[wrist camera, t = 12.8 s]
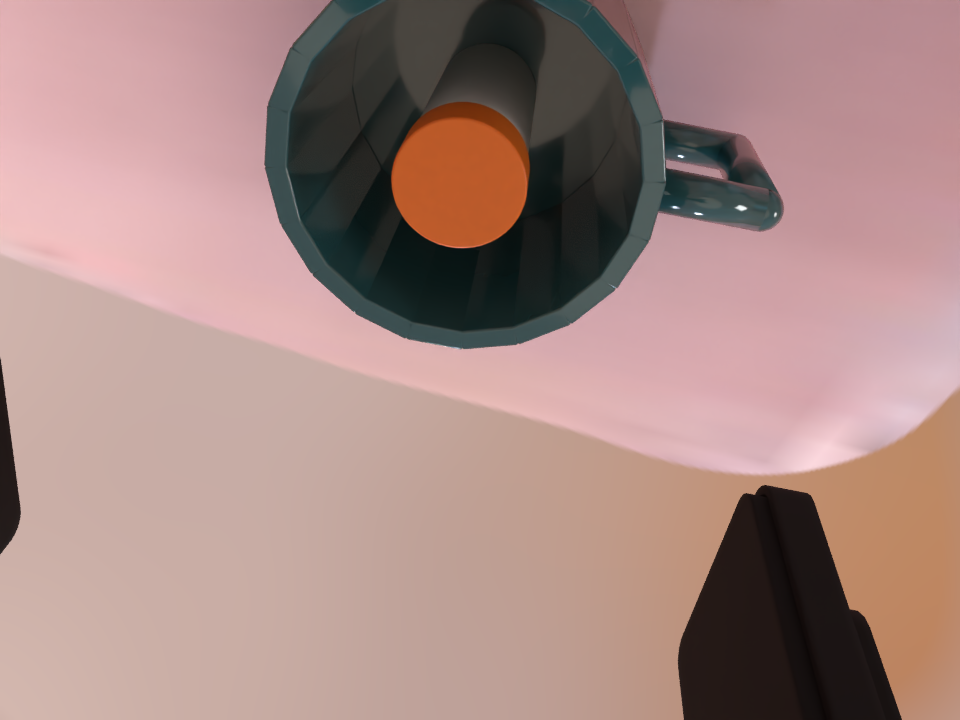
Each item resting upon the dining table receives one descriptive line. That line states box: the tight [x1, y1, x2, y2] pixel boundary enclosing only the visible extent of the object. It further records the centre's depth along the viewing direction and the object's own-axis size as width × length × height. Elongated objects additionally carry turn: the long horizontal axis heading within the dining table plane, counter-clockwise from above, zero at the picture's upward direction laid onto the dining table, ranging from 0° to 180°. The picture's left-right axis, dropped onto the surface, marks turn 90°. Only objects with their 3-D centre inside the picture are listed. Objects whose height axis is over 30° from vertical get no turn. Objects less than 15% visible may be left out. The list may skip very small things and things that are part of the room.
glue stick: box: [391, 44, 536, 248], centre depth 27 cm, size 3×3×9 cm
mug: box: [265, 0, 784, 349], centre depth 27 cm, size 14×10×9 cm
